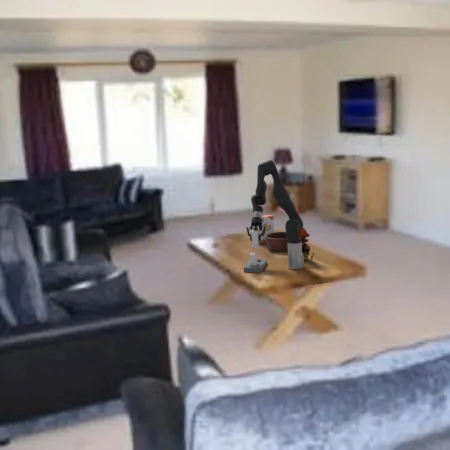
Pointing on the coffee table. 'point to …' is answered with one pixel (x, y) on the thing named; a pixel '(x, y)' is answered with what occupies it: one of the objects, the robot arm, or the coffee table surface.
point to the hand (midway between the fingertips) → (255, 240)
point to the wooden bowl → (277, 241)
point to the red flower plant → (305, 247)
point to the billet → (255, 238)
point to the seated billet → (253, 260)
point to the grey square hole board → (260, 267)
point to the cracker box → (267, 226)
